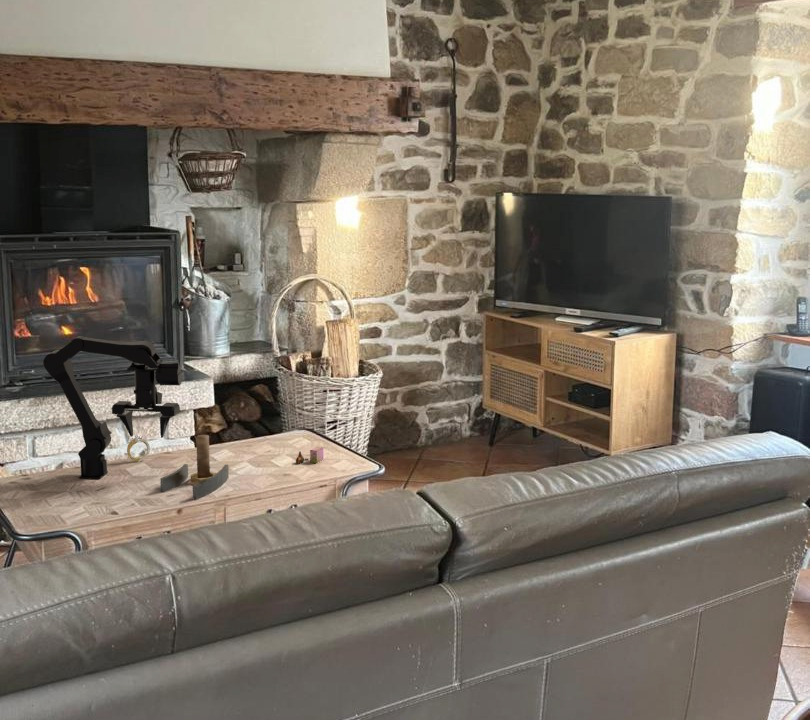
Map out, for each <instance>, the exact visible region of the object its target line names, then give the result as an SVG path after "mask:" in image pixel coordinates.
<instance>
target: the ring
mask: <svg viewBox="0 0 810 720" xmlns="http://www.w3.org/2000/svg"><path fill="white" fill-rule="evenodd" d="M140 442H141V443H143V444H144V445H145V446H146V453H145V454H144V455H143V456H142V457H137V458H135V457H132V454H131V450H132V447H133V446H134V445H136V444H137V443H140ZM126 452H127V456H128V457H129V459H130V460H132V461H134V462H139V463H140V462H141V461H143V460H145V459H146V458H147V457H148V456H149V454H150V452H151V445H150V443H149V442H148V441H147V440H146V439H143V436H138V435H136V436H134V437H133V438H132V439H130V440H129V442H128V444H127V446H126Z"/></svg>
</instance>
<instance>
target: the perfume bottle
mask: <svg viewBox="0 0 810 720" xmlns="http://www.w3.org/2000/svg"><path fill="white" fill-rule="evenodd" d="M324 456H325V455H324V447H323V446H315V447H313V448H311V449H310V450H309V457H304V456H303V455H302V451H301V450H300V451H298V455H297V457H296V459H295V463H296V464H297V465H301V464H303V463H304V462H305V461H309V463H310V462H312V463H311V464H316V463H317V464H319V463H321V462H323V461H324V460H323V459H324ZM322 460H323V461H322ZM320 461H321V462H320ZM318 462H319V463H318ZM300 463H301V464H300Z"/></svg>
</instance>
